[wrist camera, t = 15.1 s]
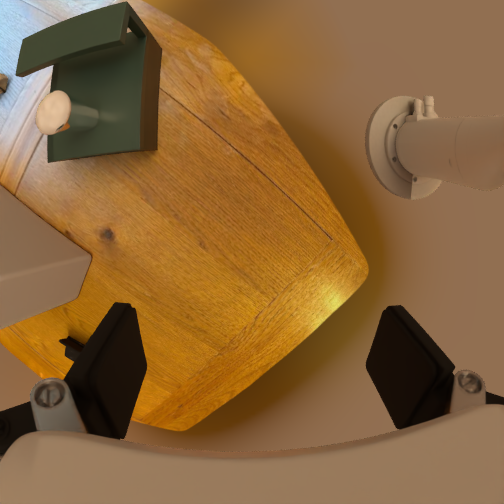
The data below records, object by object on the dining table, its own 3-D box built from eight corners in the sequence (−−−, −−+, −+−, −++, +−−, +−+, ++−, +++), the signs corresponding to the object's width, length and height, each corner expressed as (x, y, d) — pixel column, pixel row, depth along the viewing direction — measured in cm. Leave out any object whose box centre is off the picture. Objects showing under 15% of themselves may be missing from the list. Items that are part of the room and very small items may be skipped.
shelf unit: (80, 65, 30) (22, 39, 15) (162, 49, 31) (127, 0, 16) (75, 159, 35) (9, 168, 20) (157, 150, 36) (112, 149, 21)
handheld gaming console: (64, 364, 46) (51, 371, 38) (68, 334, 49) (56, 335, 40) (112, 379, 50) (106, 389, 41) (116, 348, 52) (112, 353, 44)
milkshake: (90, 147, 28) (43, 149, 19) (68, 121, 27) (19, 117, 17) (114, 119, 27) (71, 110, 18) (90, 94, 26) (45, 79, 16)
